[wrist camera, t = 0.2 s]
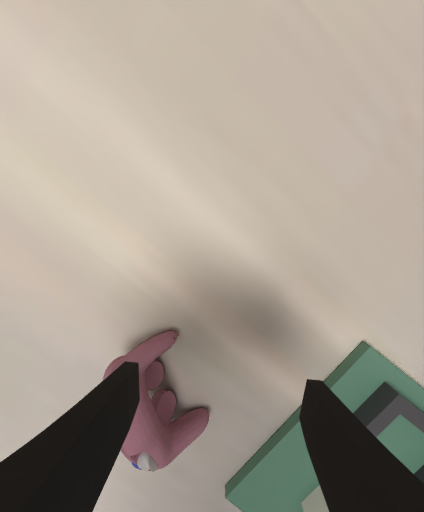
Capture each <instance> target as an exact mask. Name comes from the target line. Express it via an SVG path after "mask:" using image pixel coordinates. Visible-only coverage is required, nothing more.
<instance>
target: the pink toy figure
mask: <svg viewBox="0 0 424 512" xmlns="http://www.w3.org/2000/svg"><path fill="white" fill-rule="evenodd" d="M177 336H178V335H177V333H176V332H174V331H167V332H163V333H161V334H158V335H156V336H154V337H152V338H150V339H148V340H147V341H145V342H143V343H142V344H140V345H139V346H137V347H136V348H135V349H133V350H132V351H130V352H129V353H127V354H126V355H125V356H121V357H118V358H117V359H115V360H114V361H112V362H111V363H110V365H109V366H108V367H107V369H106V371H105V374H104V378H103V380H104V379H106V378H107V377H108V376H109V375H110V374H111V373H112V372H113V371H114V370H116V369H117V368H118V367H119V366H120V365H121V364H122V363H124V362H125V361H127V362H137V363H139V390H140V401H139V404H138V407H137V410H136V413H135V416H134V419H133V422H132V424H131V427H130V430H129V432H128V434H127V437H126V439H125V441H124V443H123V445H122V448H121V452H122V453H123V454H124V456H125V457H126V458H127V459H128V460H129V461H131V462H132V465H133V466H134V467H135V468H137V469H140V470H145V471H153V472H154V471H155V470H157V469H161V468H164V467H165V466H167V465H168V464H169V463H171V462H172V461H173V460H174V459H175V458H176V457H177V456H178V455H179V454H180V453H181V452H182V451H183V450H184V449H185V448H186V447H187V446H188V445H190V444H191V443H192V442H193V441H194V440H195V439H196V438H197V437H198V436H199V435H200V434H201V433H202V432H203V431H204V429H205V427H206V426H207V424H208V421H209V413H208V411H207V410H206V409H204V408H203V409H195V410H192V411H190V412H188V413H186V414H184V415H182V416H181V417H179V418H178V419H176V420H174V421H173V422H171V419H172V415H173V413H174V410H175V406H176V398H175V395H174V394H173V393H172V392H171V391H165V390H159V391H157V392H156V393H155V394H154V396H153V398H152V400H151V399H150V397H149V394H148V392H147V390H153V389H155V388H157V387H158V386H159V385H160V384H161V382H162V380H163V376H164V370H163V366H162V364H161V363H160V362H158V361H154V360H155V359H156V358H157V357H159V356H160V355H161V354H163V353H164V352H165V351H167V350H168V349H169V348H170V347H171V346H172V345H173V344H174V343H175V341H176V339H177Z"/></svg>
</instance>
